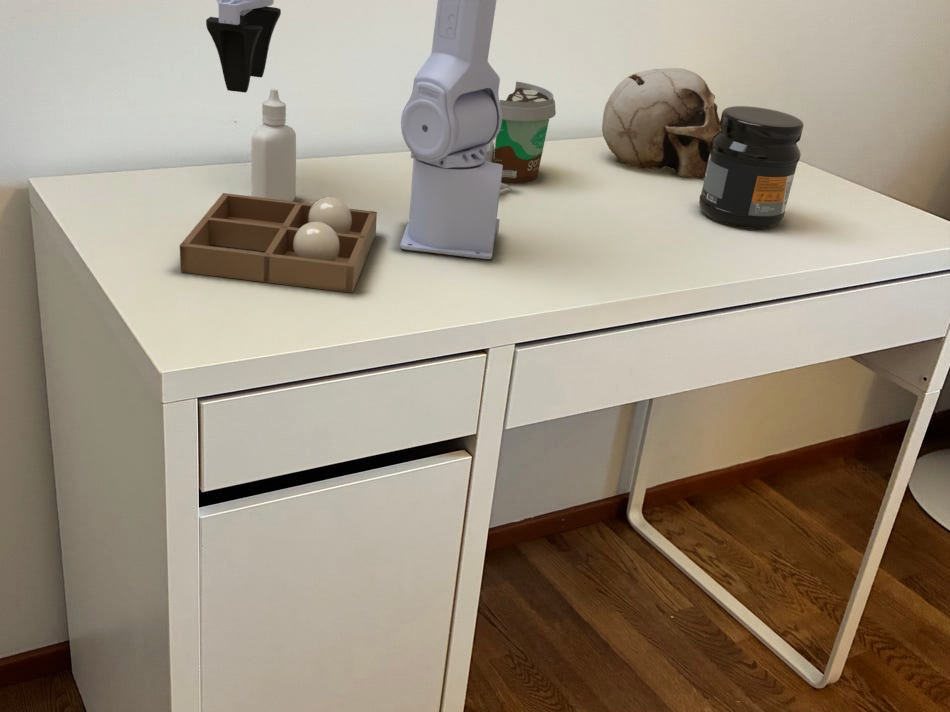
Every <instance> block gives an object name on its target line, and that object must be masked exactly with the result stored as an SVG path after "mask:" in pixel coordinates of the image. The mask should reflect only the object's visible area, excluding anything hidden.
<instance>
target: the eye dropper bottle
mask: <svg viewBox="0 0 950 712" xmlns="http://www.w3.org/2000/svg"><path fill="white" fill-rule="evenodd" d="M261 106H262V107H261V110H262V113H261V114H262V115H261V117H262V124H260V125H259V127H257V128H256V129H255V131H254V133H253V134H252V136H251V141H250V142H251V144H250V145H251V146H250V147H251V148H250V149H251V150H250V167H251V168H250V174H251V175H250V177H251V178H250V179H251V181H250V183H251V186H250V187H251V188H250V189H251V190H250V191H251V192H250V193H251V195H250V196H252V197H260V198H268V199H276V200H285V201H293V202H295V198H296V193H297V191H296V189H297V187H296V186H297V134H296V131H295V130H294V128H293V127H291V126H289V125H287V124H286V123H287V119H286V118H287V104H286V103H285V102H284V101H282V100H281V99H280V97H279V90H278V89H277V88H271V89H270V92H269V96H268V98H267V99H266V100H264V101H263V102H262V105H261Z"/></svg>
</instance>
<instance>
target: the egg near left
mask: <svg viewBox="0 0 950 712" xmlns="http://www.w3.org/2000/svg"><path fill="white" fill-rule="evenodd" d="M312 204H313V205H312V207H311V209H310V211H309V215H308V223H309V222H322V223H325V224H327V225H329V226H330V227H331V228H332V229H333V230H334V231H335V232H336V233H343V234H348V232H349V231H350V229H351V225H352V215H351V212H350V210H349V208H350V207H348V205H347V204H346V203H345V202H344V201H343V200H341V199H339V198H338V197H333V196H325V197H321V198H319V199H317V200H316V201H315V202H314V203H312Z"/></svg>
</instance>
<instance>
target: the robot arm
mask: <svg viewBox="0 0 950 712" xmlns="http://www.w3.org/2000/svg"><path fill="white" fill-rule="evenodd" d="M216 2H217V7H218V17H215V16H209V17H208V18H206V20H205V24H206V25H205V26H206V30H207V31H208V33H209V35H210V36H211V39H212V41H213V43H214V45H215V49H216V51H217V54H218V58H219V61H220V65H221V70H222V71H221V72H222V75H223V79H224V83H225V87H226V90H227V91H230V92H237V93H247V92H248V90H249V86H250V82H251V77H252V78H253V77H254V78H263V77H264V73H265V70H266V65H267V59H268V54H269V49H270V44H271V39H272V36H273V33H274V30H275V29H276V28H275V27H276V25H277V23H278V22H279V19H280V17H281V14H282V10H281V8H278V7H275V6H272V5H274V3H275V0H216ZM496 7H497V0H437V2H436V12H435V21H434V26H433V27H434V29H433V36H432V44H431V53H430V54H429V56H428V57H427V59H426V60H425V62H424V63H423V65H422V66H421V67H420V68H419V70H418V71H417V73H416V74H415V76H414V78H413V85H412V89H411V94H410V97H409V99H408V101H407V102H406V103H405V106H404V107H403V110H402V112H401V116H400V117H401V118H400V129H401V134H402V137H403V141H404V142H405V145H406V146H407V148H408V149H409V151H410V158H411V159H412V172H411V173H412V175H411V185H410V201H409V212H408V213H409V215H408V221H407V223H406V227H405V230H404V232H403V235H402V238H401V240H400V245H399V246H400V249H402V250H407V251H415V252H423V253H431V254H438V255H439V254H440V255H446V256H447V255H449V256H454V257H455V256H456V257H464V258H473V259H481V260H492V259H493V254H494V253H493V252H494V246H495V245H494V244H495V238H497V237H499V231H500V222H501V219H500V218H498V212H499V201H500V193H501V190H500V186H501V178H502V169H503V165H501V164H497V163H492V162H489V161H486V160H485V156H486V155H487V148H488V144H490V143H491V142H493V141H495V140H496V137H497V135H498V133H499V131H500V128H501V124H502V111H501V107H500V98H499V89H500V84H501V83H500V82H501V79H500V76H499V75H498V73H497V72H496V70H495V69H494V68H493V67H492V65H491V64H490V63H489V55H490V54H489V53H490V48H491V41H492V34H493V26H494V19H495V15H496V13H495V12H496Z"/></svg>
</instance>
